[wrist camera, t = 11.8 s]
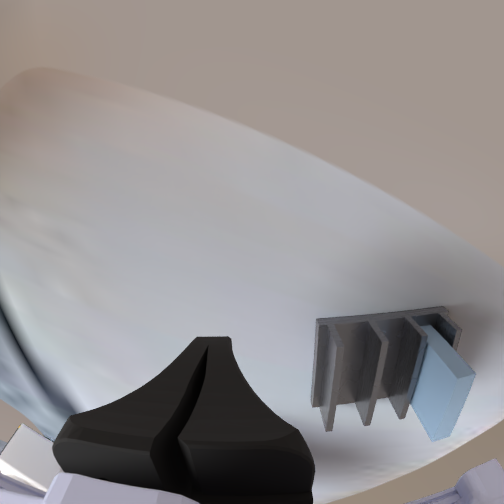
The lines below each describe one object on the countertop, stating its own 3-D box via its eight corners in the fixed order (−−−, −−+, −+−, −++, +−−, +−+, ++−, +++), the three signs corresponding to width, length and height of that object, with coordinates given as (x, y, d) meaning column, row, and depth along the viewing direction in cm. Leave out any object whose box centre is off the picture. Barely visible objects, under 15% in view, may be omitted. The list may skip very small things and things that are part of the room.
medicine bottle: (21, 421, 27) (-22, 485, 16) (70, 450, 28) (34, 522, 17) (23, 447, 29) (-12, 505, 18) (67, 473, 30) (38, 536, 19)
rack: (426, 382, 25) (444, 408, 21) (310, 399, 25) (318, 432, 21) (445, 305, 23) (470, 327, 19) (316, 318, 23) (327, 348, 19)
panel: (416, 383, 24) (449, 436, 17) (400, 386, 24) (431, 441, 17) (430, 324, 22) (476, 373, 16) (413, 327, 22) (457, 378, 16)
